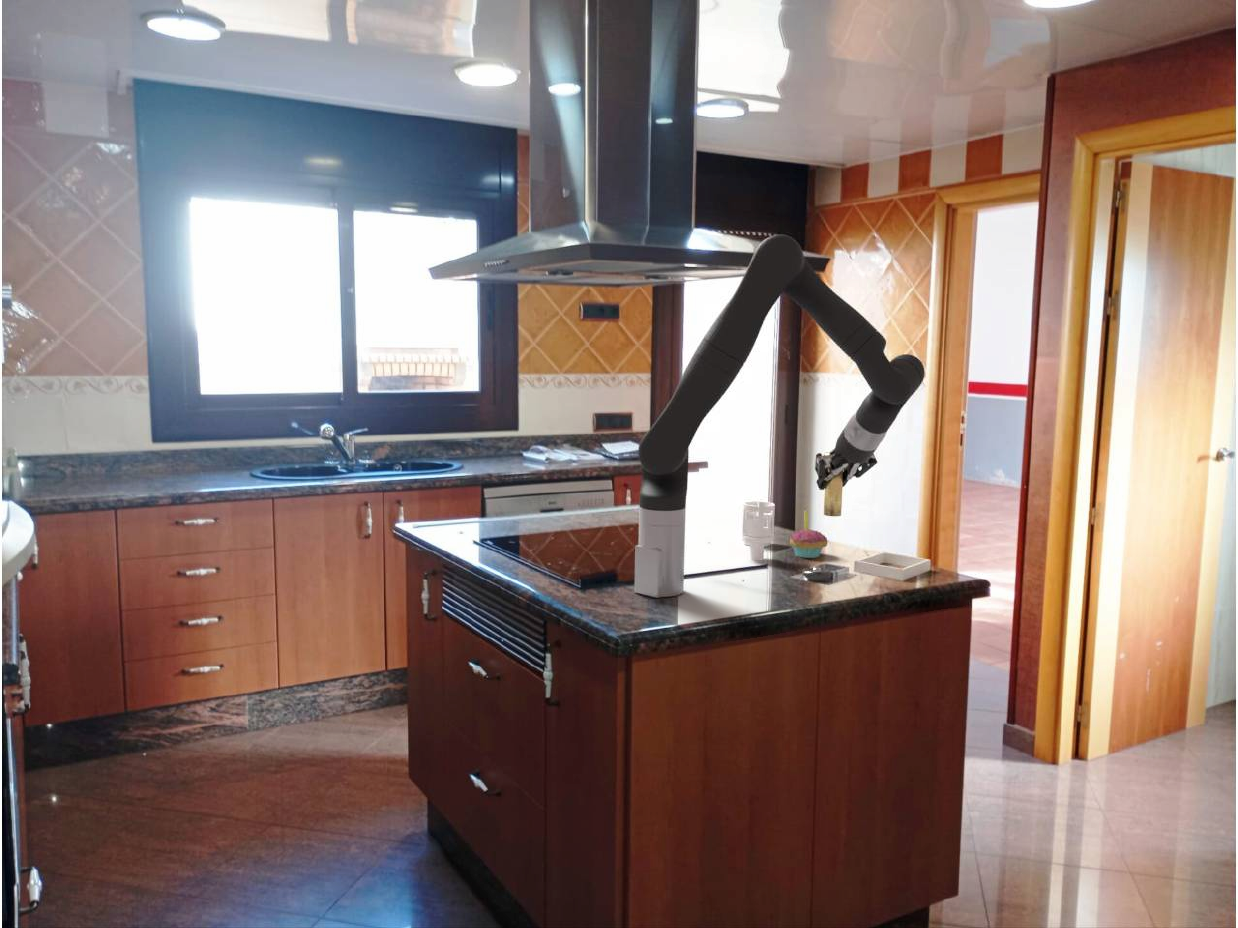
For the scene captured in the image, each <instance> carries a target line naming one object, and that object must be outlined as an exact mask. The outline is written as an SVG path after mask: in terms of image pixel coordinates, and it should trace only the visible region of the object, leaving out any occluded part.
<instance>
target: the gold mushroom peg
mask: <svg viewBox="0 0 1238 928" xmlns="http://www.w3.org/2000/svg"><path fill="white" fill-rule="evenodd" d="M830 452H831V451H829V452H824V453H823V456H824V455H828V454H829V453H830ZM828 472H830V470H828ZM843 488H844V487H843V470H842V471H841V472H840V473H839V474H838V475H834V476H833V477H832V478H831V479H830V481H829V483H828V484H827V485H826V487H825V489H824V495H823V496H824V501H823V515H824V516H827V517H841V516H842V507H843V506H842V505H843V504H842V503H843Z"/></svg>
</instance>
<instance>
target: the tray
mask: <svg viewBox="0 0 1238 928" xmlns="http://www.w3.org/2000/svg"><path fill="white" fill-rule="evenodd" d="M931 562H932V561H931V559H928V558H924V557H923V558H922V557H916V556H913V555H912V556H910V555H905V554H900V553H895V552H894V553H893V552H888V551H881V552H878V553H874V554H871V555H869V556H866V557H861V558H859V559H856V560H854V563H853V564H854V565H853V572H855V573H861V574H865V575H871V576H875V577H879V578H880V577H881V578H886V579H891V580H896V581H901V582H903V581H906V580H909V579H910V578H913V577H916V576H918V575H921V574H924V573H927V572H930V570H931ZM883 564H889V565H895V566H901V567H902V568H901V567H900V568H899V567H894V566H889V565H883Z"/></svg>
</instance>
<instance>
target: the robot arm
mask: <svg viewBox="0 0 1238 928" xmlns="http://www.w3.org/2000/svg"><path fill="white" fill-rule="evenodd" d="M802 249H803V248H802V246H800V244H799V242H797V240H796V239H795V238H793V237H792V236H789V235H786V234H773V235H771V236H768V237H767V238H764V239H763V240H762V241H761V242H760V243H759V245H758V246H757V247H756V249H755V251H754V253H753V255H752V257H751V260H750V261H749V265H748V267H747V269H746V270H745V273H744V275H743V277H742V278H741V281H740V283H739V285H738V287H737V288H736V290H735V292H734V294H733V295H732V297H731V298H730V300H729V301H728V303H726V305H725V306H724V308H723V309H722V310H721V312H720V313H719V314H718V316H717V317H716V319H715V320H714V322H713V323H712V324H711V326H710V327H709V329H708V330H707V332H705V333H706V334H705V335H704V337H703V339H702V340H701V342H700V343H699V345H698V346H697V348H696V350H695V352H694V353H693V355H692V357H691V359H690V360H689V363H688V364H687V366H686V367H685V369H684V371H683V374H682V375H681V378H680V380H679V381H678V384H677V386H676V389H675V391H674V392H673V395H672V396H671V399H670V401H669V402H668V403H667V405H666V407H665V408H664V410H663V411H662V412H661V414H660V415H659V416H658V417H657V419H656V420H655V422H654V423H653V424H652V426H651V427H650V428H649V429H648V431H646V433H645V434H644V435H643V436H642V437H641V439H640V442H639V445H638V454H637V455H638V459H639V461H640V464H641V484H640V489H639V490H640V491H639V499H638V501H639V503H638V507H639V508H638V511H639V512H638V544H636V545H635V547H634V549H635V550H634V551H635V552H634V593H635V594H636V593H637V594H641V595H644V596H649V597H653V598H657V599H659V598H664V597H665V598H667V597H675V596H679V595H682V594H683V593H684V582H685V581H684V580H685V579H684V578H685V549H686V546H685V545H686V544H685V542H686V541H685V539H686V509H687V507H686V505H687V504H686V503H687V493H688V476H689V457H690V456H689V454H690V453H689V451H690V450H689V447H690V445H691V444H692V441H693V439H694V438H695V435H696V433H697V431H698V429H699V428H700V426H701V424H702V422H703V421H704V419H705V418H706V416H707V415H708V414H709V413H710V412H711V410H713V408H714V407H715V406H716V404H717V403H719V401H720V400H721V399H722V397H723V396H724V395H725V393H726V392H727V390H728V389H729V388H730V386H732V384H733V382H734V381H735V379H736V378H737V377H738V375H739V373H740V371H741V369H743V366H744V364H745V363H746V362H747V359H748V357H749V356H750V354H751V352H752V351H753V348H754V346H755V344H756V341H757V339H758V337H759V334H760V332H761V330H762V327H763V325H764V323H765V320H766V318H767V316H768V314H769V312H770V311H771V309H772V308H773V306H775V303H776V302H777V301H778V300H779V298H780V296H781V295H782V294H784V295H786V296H787V297H788V298H789V299H791V300H792V301H793V302H794V303H796V304H797V305H798V306H799V307H800V308H802V309H803V310H804V312H806V314H808V315H809V316H810V318H812V319H813V321H815V323H816V324H817V325H818V326H819V327H820V328H821V330H822V331H823V332H824V333H825V334H826V336H828V338H829V339H830V340H832V342H833V343H835V345H836V346H837V347H838V348H839V349H840V350H841V351H842V352H844V353H845V355H847V357H849V358H850V359H851V360H852V361H853V362H854V363H855V364H856V366H857V368H858V370H859V371H860V374H861V375H862V377H863V378H864V380H865V381H866V383H867V385H868V387H869V388H870V390H871V391H870V392H869V393H868V395H866V396H865V398H864V399H863V400H862V402H861V404H860V405H859V407H858V409H856V412H855V413H854V414H853V415H852V416H851V417H850V418H849V420H848V422H847V423H846V425H845V427H844V428H843V430H842V431H841V433H840V435H839V436H838V437H837V439H836V442H835V447H834V448H833V449H832V450H831V451H829V452H830V453H829V454H828V455H824V454H822V453H821V452H819V453H817V454H815V460H814V461H815V463H814V464H815V465H814V470H815V472H816V474H817V479H816V484H817V487H818V489H819V491H825V487H826V485H827V484H828V483H829V481H830V479H831V478H832V477H833V476H834V475H838V474H839V473H840V472H841V471H842V470H843V487H842V488H844V487H845V486H846V484H847V483H848V482H849V481H850V480H852V479H853V478H856V479H857V478H861V477H862V476H863V475H864V474H866V473H867V472H868V471H869V470H871V469H872V468H873V467H874V466H875V465H877V464H878V460H877V457H876V456H875V452H876V450H877V449H878V447H880V445H881V443H882V442H883V441H884V439H885V437H886V434H887V432H889V431H888V430H889V429H890V427H892V425H893V424H894V422H895V420H896V418H897V417H898V415H899V413H900V412H901V411H902V409H903V407H904V406H905V405H906V404H907V403H908V401H909V400H910V398H911V397H912V396H914V394H915V393H916V391H917V390H918V389H919V387H920V386H921V384H922V383H923V381H924V379H925V374H926V372H925V366H924V364H923V362H922V361H921V360H920V359H919V358H918V357H917V356H915V355H913V354H908V353H905V354H899V355H897V356H895V357H893V358H892V359H891V360H889V359H888V357H887V356H886V354H885V348H886V346H887V341H886V338H885V337H884V336H883V334H882V333H881V332H879V331H878V329H876V327H875V326H873V325H872V324H871V322H869V321H868V320H867V319H866V317H864V315H862V314H861V313H860V312H859V311H857V309H855V308H854V307H853V306H852V305H851V304H849V303H848V302H847V301H846V300H845V299H843V298H842V297H841V296H840V295H838V294H837V293H836V292H835V291H833V289H831V288H830V287H829V286H828V285H827V284H826V282H824V281H823V280H822V279H821V278H820V277H819V276H818V274H817V273H816V271H815V270H814V269H813V268H812V266H811V265H810V263H809V262H808V261H807V259H806V258H805V256H804V252H803V250H802ZM859 468H861V469H859ZM828 470H830V472H828Z"/></svg>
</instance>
